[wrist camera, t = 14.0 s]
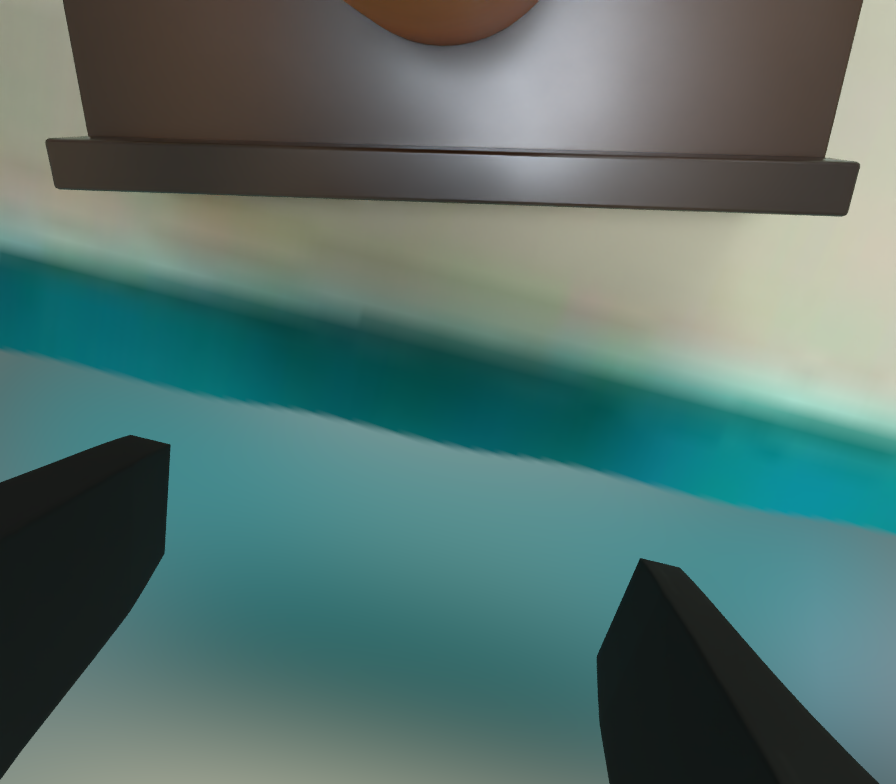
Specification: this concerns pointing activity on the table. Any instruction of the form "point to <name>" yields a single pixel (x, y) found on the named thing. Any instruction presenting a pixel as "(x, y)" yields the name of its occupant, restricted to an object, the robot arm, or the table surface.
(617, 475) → the table surface
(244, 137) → the shelf
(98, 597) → the robot arm
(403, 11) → the can
